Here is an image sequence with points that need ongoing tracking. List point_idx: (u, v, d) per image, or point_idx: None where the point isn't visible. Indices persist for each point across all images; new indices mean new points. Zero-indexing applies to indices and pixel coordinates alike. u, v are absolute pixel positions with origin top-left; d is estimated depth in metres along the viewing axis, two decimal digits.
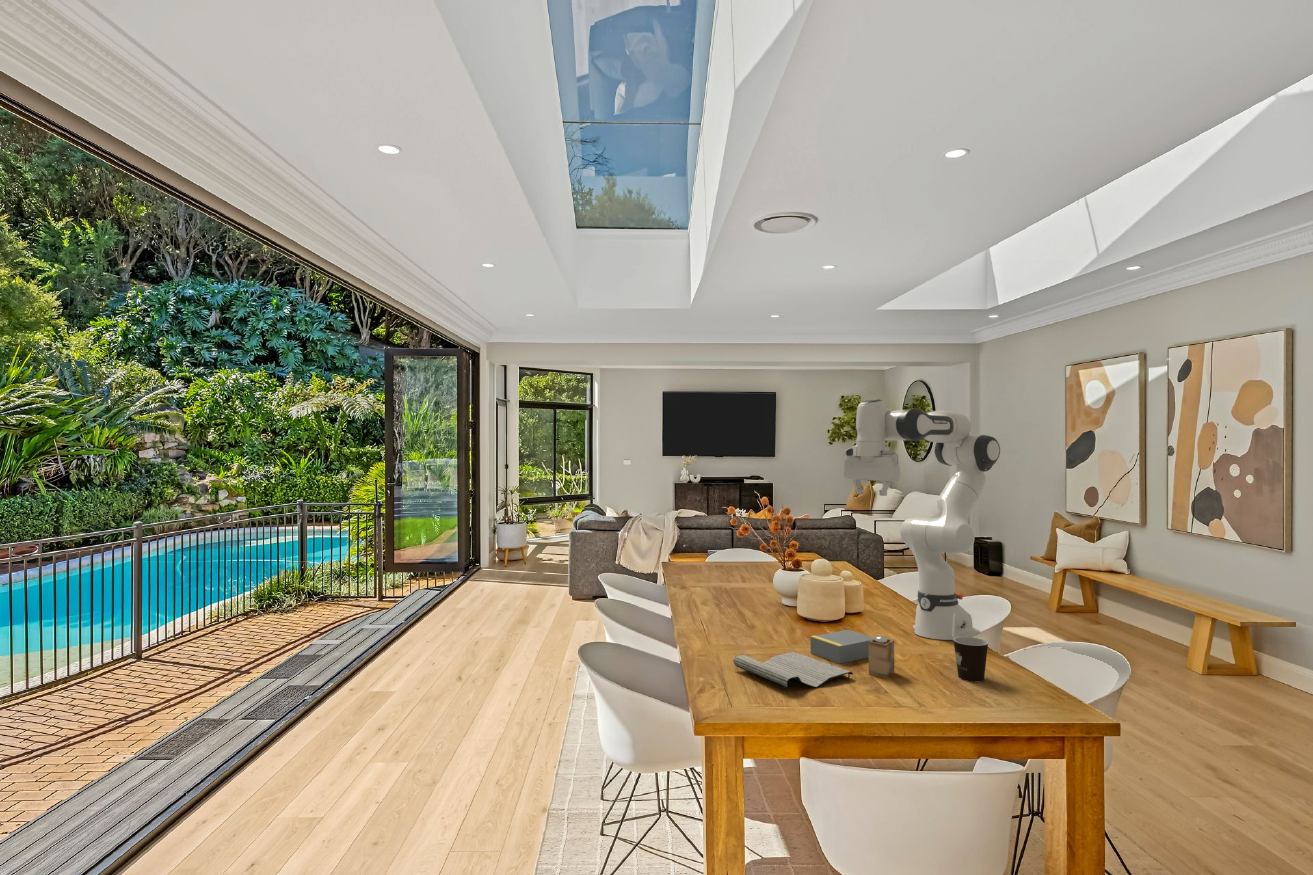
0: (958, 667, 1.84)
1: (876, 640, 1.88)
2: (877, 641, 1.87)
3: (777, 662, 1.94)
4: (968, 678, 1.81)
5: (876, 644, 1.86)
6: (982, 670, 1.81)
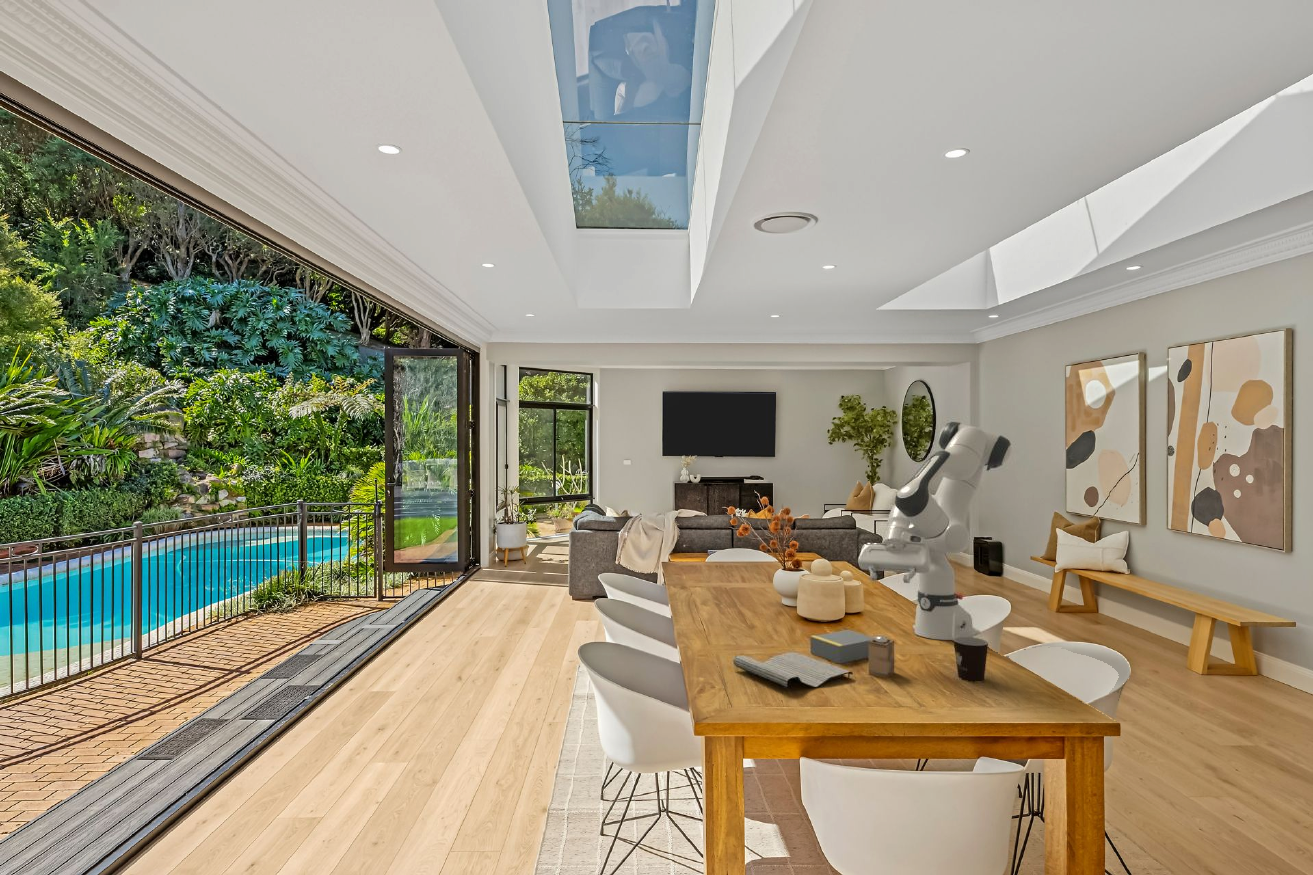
0: (958, 667, 1.84)
1: (876, 640, 1.88)
2: (877, 641, 1.87)
3: (777, 663, 1.94)
4: (968, 678, 1.81)
5: (876, 644, 1.86)
6: (982, 670, 1.81)
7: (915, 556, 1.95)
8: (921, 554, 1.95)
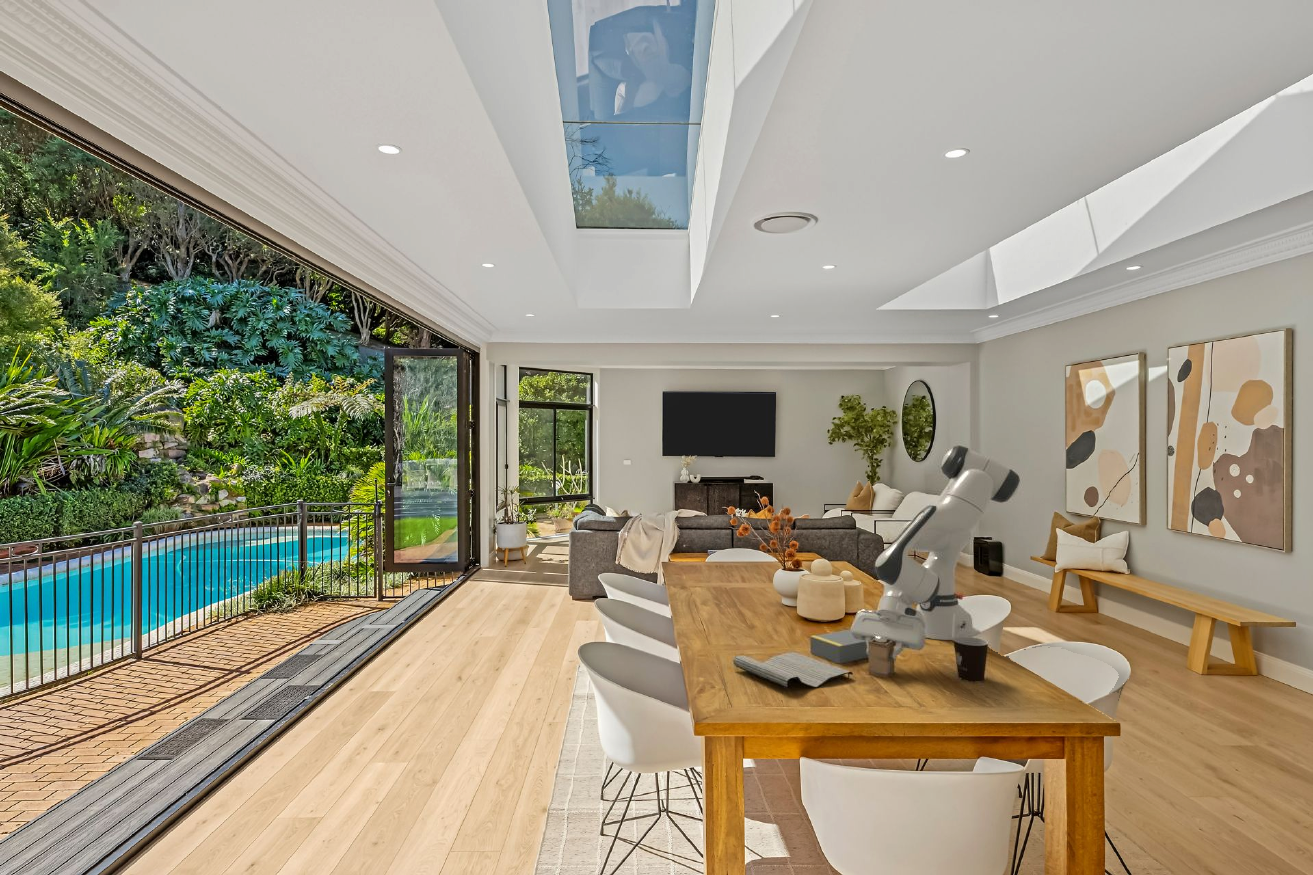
0: (958, 667, 1.84)
1: (876, 640, 1.88)
2: (877, 641, 1.87)
3: (776, 663, 1.94)
4: (968, 678, 1.81)
5: (876, 644, 1.86)
6: (982, 670, 1.81)
7: (909, 631, 1.87)
8: (914, 630, 1.86)
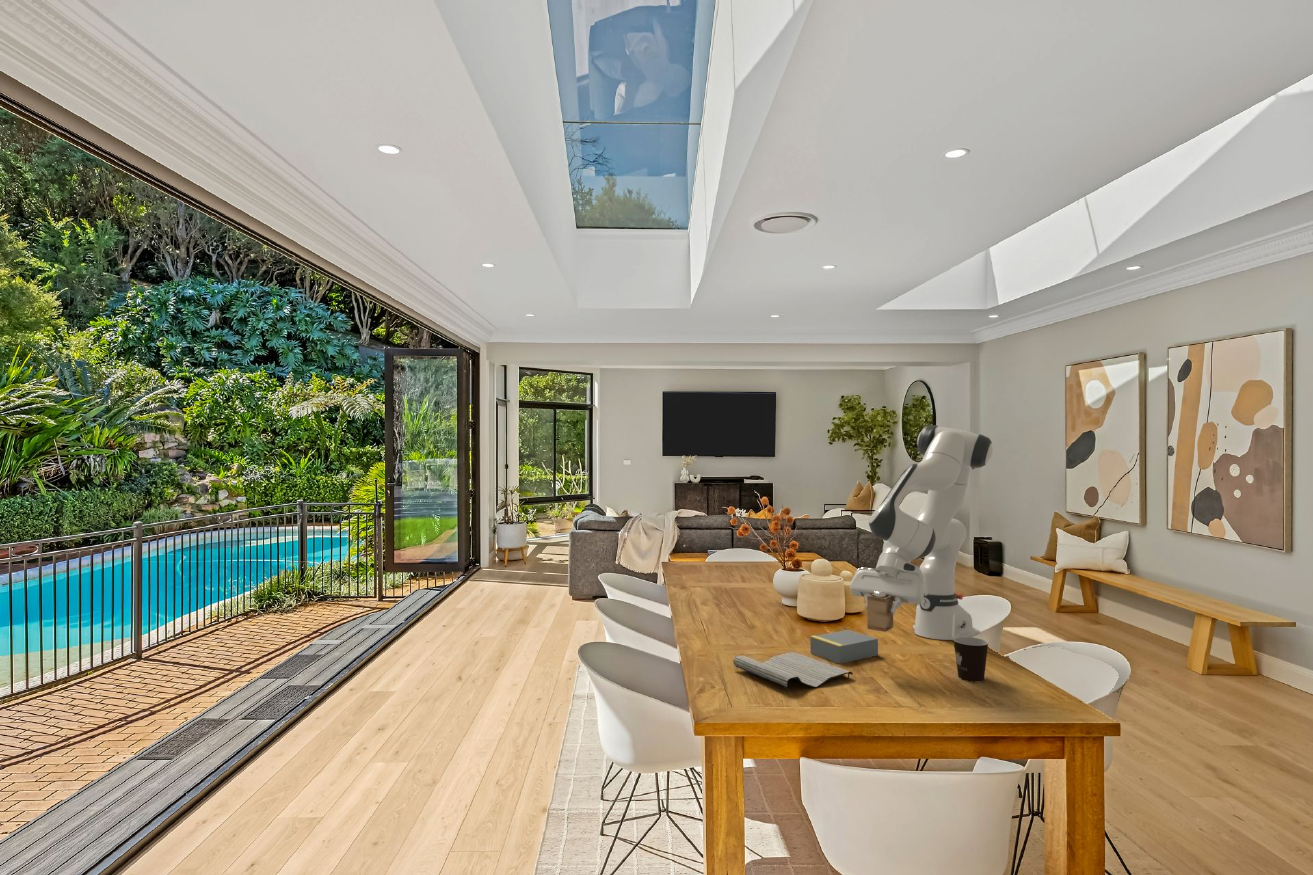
0: (958, 667, 1.84)
1: (875, 595, 1.88)
2: (876, 596, 1.88)
3: (776, 663, 1.94)
4: (968, 678, 1.81)
5: (875, 598, 1.86)
6: (982, 670, 1.81)
7: (907, 586, 1.87)
8: (913, 585, 1.87)
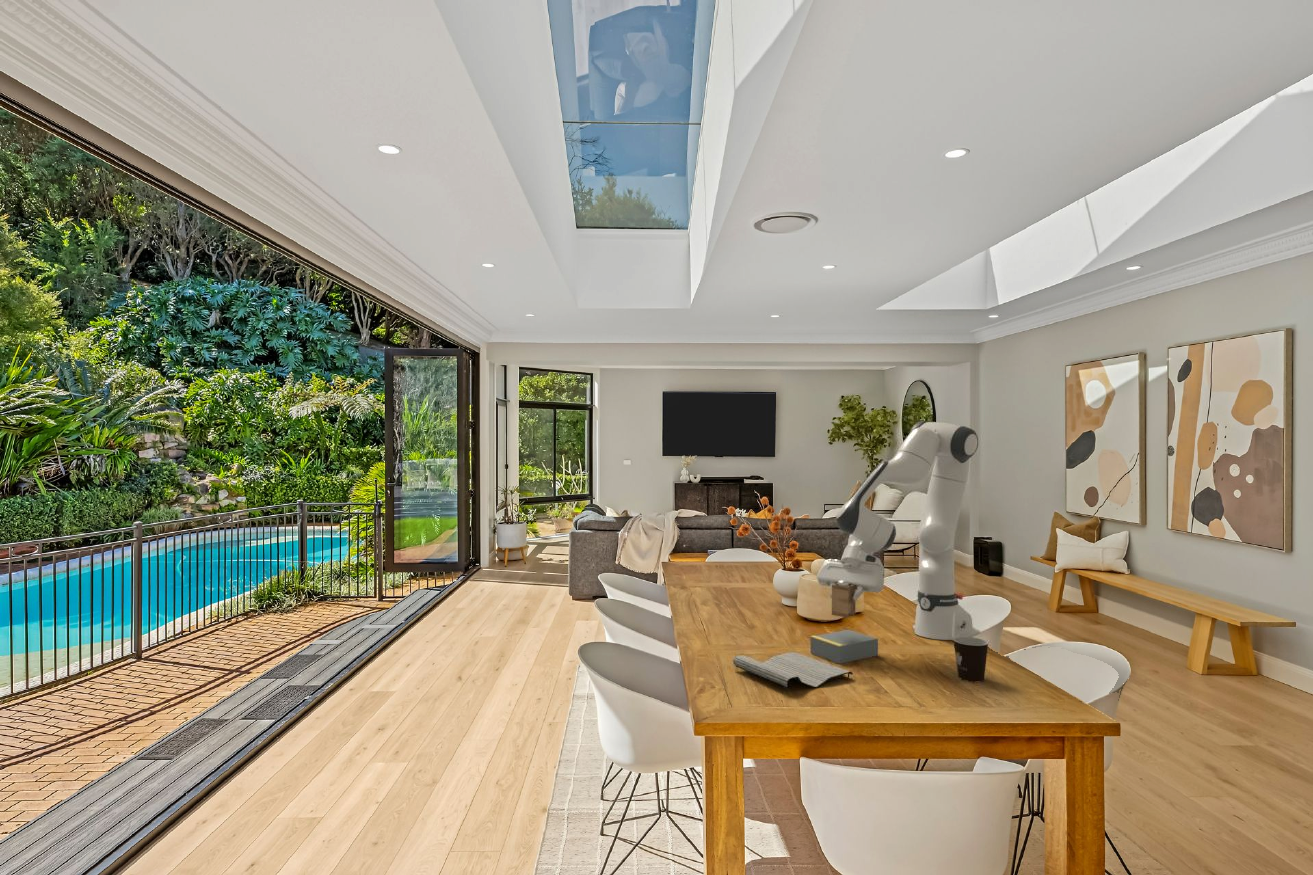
0: (958, 667, 1.84)
1: (839, 584, 2.05)
2: (839, 585, 2.05)
3: (776, 663, 1.94)
4: (968, 678, 1.81)
5: (838, 587, 2.03)
6: (982, 670, 1.81)
7: (868, 576, 2.05)
8: (874, 574, 2.04)
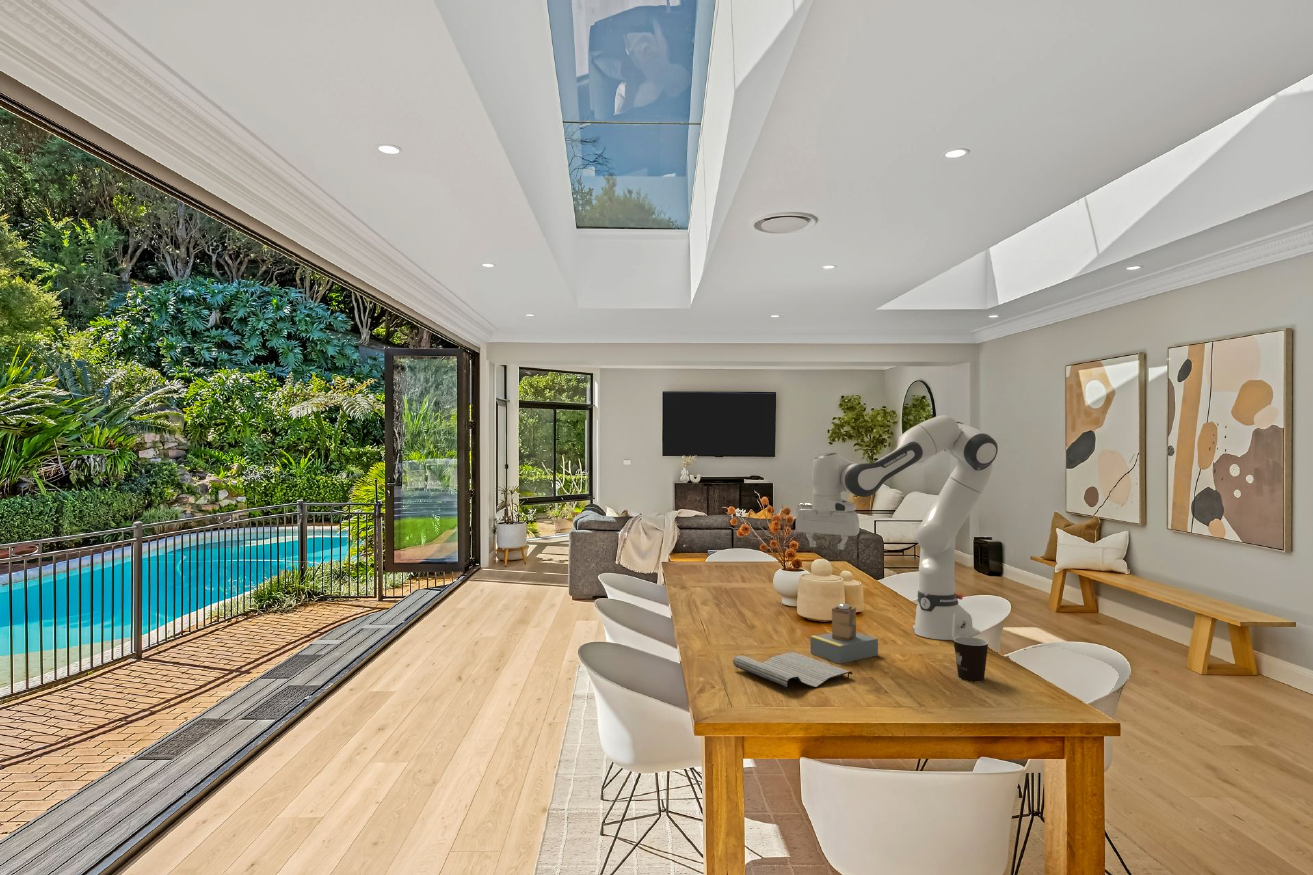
0: (958, 667, 1.84)
1: (839, 607, 2.05)
2: (840, 608, 2.05)
3: (776, 663, 1.94)
4: (968, 678, 1.81)
5: (839, 611, 2.03)
6: (982, 670, 1.81)
7: (843, 524, 2.08)
8: (848, 522, 2.07)
